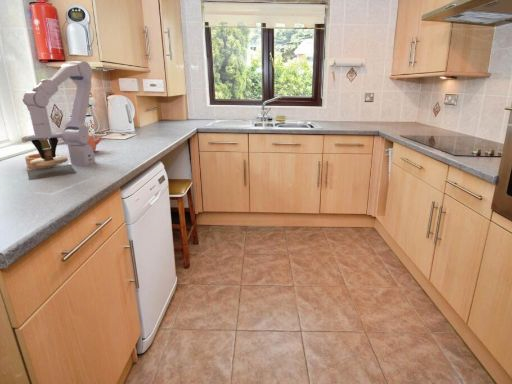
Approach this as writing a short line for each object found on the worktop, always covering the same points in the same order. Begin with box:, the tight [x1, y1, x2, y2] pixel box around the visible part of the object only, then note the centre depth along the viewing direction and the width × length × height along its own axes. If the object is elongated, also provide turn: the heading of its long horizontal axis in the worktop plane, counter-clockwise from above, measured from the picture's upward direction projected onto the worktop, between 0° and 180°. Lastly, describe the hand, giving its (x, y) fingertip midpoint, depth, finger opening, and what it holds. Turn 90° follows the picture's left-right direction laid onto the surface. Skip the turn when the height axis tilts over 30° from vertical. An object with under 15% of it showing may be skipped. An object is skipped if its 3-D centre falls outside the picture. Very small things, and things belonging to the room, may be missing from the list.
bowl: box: [24, 152, 57, 169], centre depth 142 cm, size 11×11×4 cm
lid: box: [30, 147, 69, 166], centre depth 131 cm, size 13×13×5 cm
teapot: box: [87, 133, 103, 152], centre depth 167 cm, size 14×12×10 cm
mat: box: [26, 164, 77, 181], centre depth 133 cm, size 16×17×1 cm
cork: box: [39, 138, 51, 149], centre depth 160 cm, size 6×6×11 cm
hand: (48, 157), depth 131 cm, fingers closed on lid, 3 cm apart
